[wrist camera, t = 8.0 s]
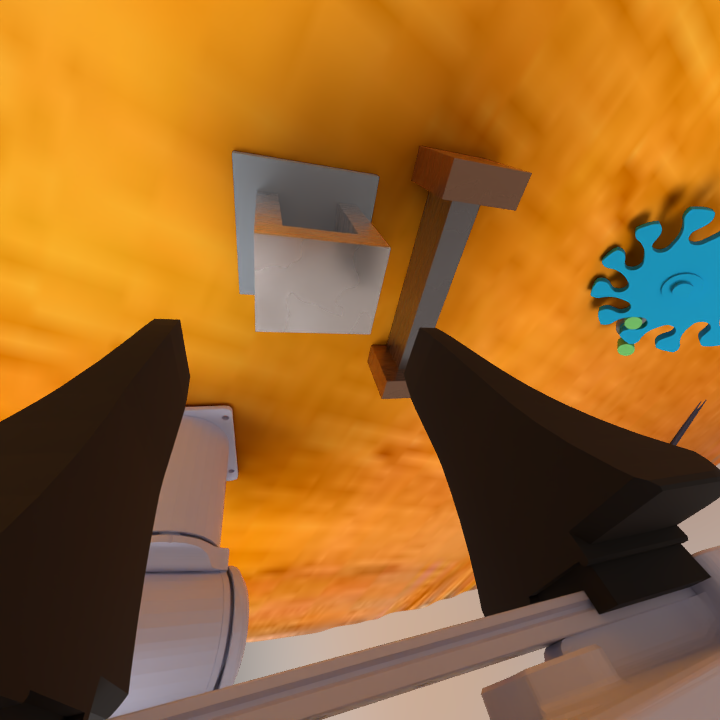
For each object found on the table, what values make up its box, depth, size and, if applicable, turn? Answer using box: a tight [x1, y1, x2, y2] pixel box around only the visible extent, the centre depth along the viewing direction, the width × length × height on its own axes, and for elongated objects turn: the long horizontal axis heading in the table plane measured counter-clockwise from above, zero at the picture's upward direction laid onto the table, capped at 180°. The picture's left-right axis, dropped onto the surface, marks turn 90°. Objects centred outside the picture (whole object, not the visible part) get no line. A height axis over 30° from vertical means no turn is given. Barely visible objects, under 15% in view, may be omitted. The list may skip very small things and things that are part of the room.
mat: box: [232, 151, 379, 295], centre depth 18 cm, size 7×7×1 cm
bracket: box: [254, 191, 391, 334], centre depth 15 cm, size 4×5×6 cm
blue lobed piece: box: [591, 207, 720, 356], centre depth 24 cm, size 11×6×10 cm
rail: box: [368, 146, 532, 399], centre depth 20 cm, size 14×4×4 cm, turn 170°
